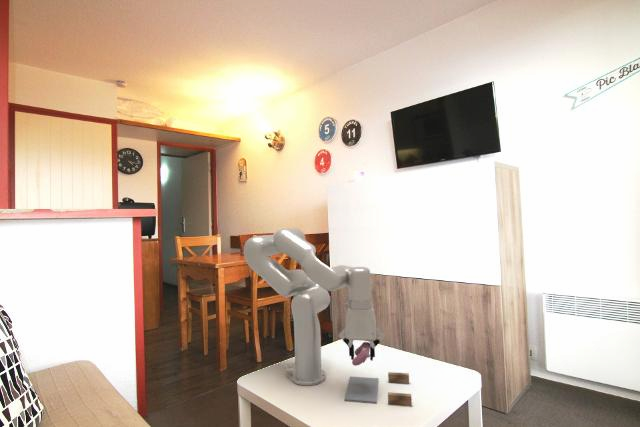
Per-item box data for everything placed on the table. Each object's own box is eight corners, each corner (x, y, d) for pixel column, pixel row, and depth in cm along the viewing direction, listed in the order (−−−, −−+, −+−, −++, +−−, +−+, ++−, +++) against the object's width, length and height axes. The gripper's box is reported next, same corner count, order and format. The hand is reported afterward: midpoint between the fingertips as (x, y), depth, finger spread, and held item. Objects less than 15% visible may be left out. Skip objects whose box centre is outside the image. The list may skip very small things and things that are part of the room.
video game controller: (363, 371, 109) (372, 352, 109) (350, 364, 110) (359, 345, 110) (366, 359, 119) (374, 341, 119) (353, 353, 120) (361, 335, 120)
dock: (388, 404, 105) (387, 394, 105) (388, 380, 121) (388, 372, 121) (411, 406, 104) (411, 396, 104) (408, 382, 119) (408, 373, 119)
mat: (344, 401, 108) (344, 399, 108) (350, 378, 123) (350, 376, 123) (376, 403, 106) (376, 401, 106) (378, 380, 121) (378, 378, 121)
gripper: (333, 306, 113) (335, 361, 113) (386, 307, 110) (388, 364, 109) (336, 301, 121) (338, 353, 120) (386, 302, 117) (388, 355, 117)
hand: (362, 358), depth 115 cm, fingers closed on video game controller, 5 cm apart
